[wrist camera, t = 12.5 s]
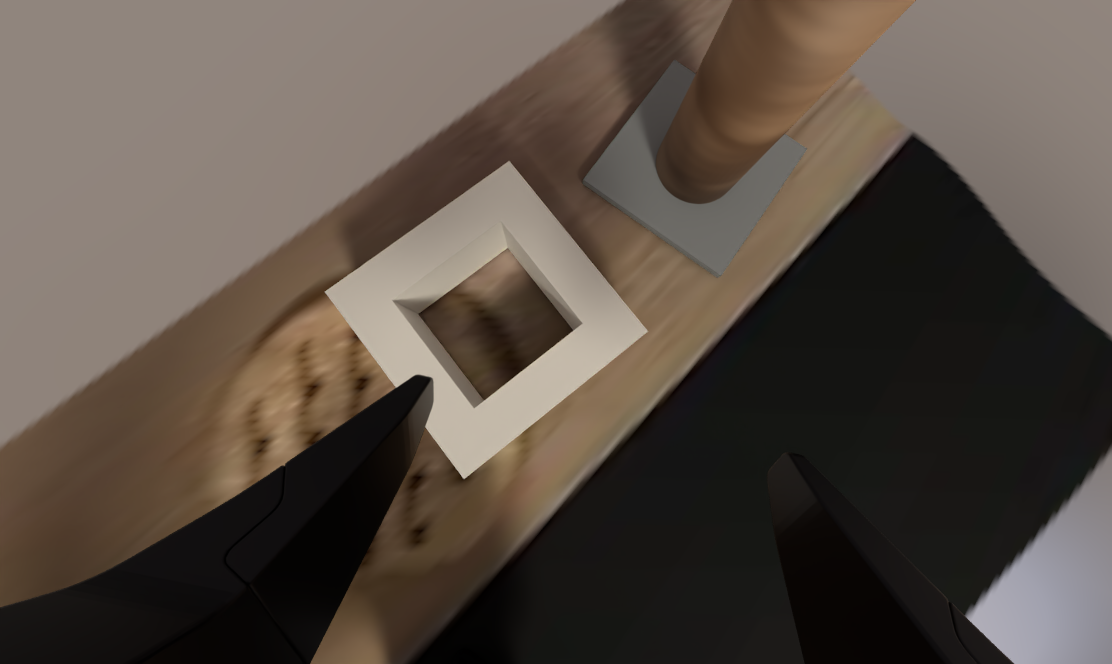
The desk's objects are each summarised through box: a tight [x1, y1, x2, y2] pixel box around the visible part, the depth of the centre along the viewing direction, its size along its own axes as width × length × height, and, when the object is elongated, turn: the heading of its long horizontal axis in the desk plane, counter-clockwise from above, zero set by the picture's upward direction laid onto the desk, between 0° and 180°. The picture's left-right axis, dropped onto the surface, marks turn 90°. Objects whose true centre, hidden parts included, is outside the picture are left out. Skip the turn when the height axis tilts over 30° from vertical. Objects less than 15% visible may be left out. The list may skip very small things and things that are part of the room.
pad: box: [582, 60, 807, 278], centre depth 24 cm, size 10×10×1 cm
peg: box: [656, 0, 916, 204], centre depth 17 cm, size 5×5×13 cm
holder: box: [325, 161, 648, 479], centre depth 21 cm, size 11×11×4 cm
